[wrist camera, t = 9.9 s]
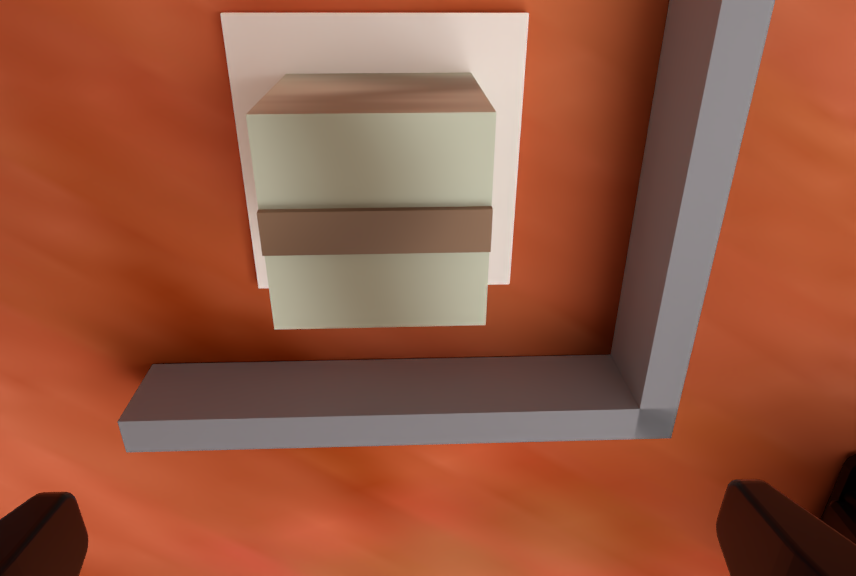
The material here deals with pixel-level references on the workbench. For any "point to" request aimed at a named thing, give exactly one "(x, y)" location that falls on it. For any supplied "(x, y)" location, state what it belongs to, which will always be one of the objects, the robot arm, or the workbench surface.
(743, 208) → the workbench surface
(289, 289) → the cube
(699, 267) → the l-shaped corner bracket
